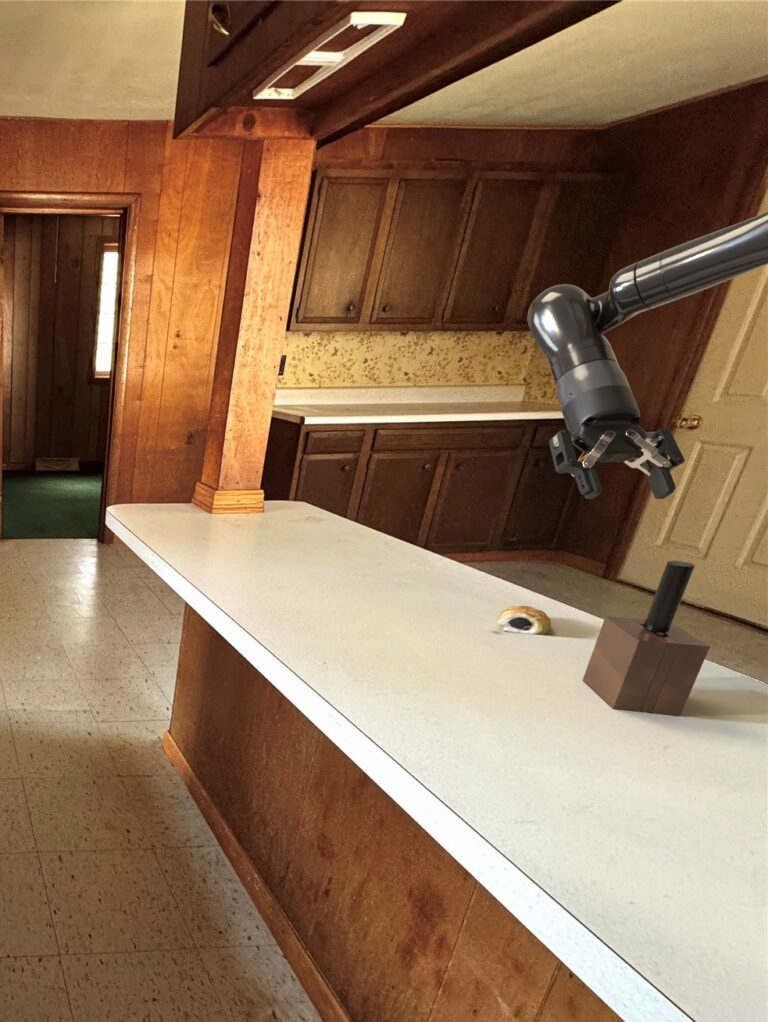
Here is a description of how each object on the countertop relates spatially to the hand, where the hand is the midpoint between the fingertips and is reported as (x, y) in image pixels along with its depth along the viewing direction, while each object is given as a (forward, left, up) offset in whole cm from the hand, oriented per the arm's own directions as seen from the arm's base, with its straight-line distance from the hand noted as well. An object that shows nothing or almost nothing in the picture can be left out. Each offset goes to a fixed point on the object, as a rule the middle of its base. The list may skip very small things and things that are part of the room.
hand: (629, 496), depth 90 cm
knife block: (-2, +11, -26) cm, 28 cm away
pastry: (+1, -14, -26) cm, 30 cm away
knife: (-2, +11, -25) cm, 27 cm away
